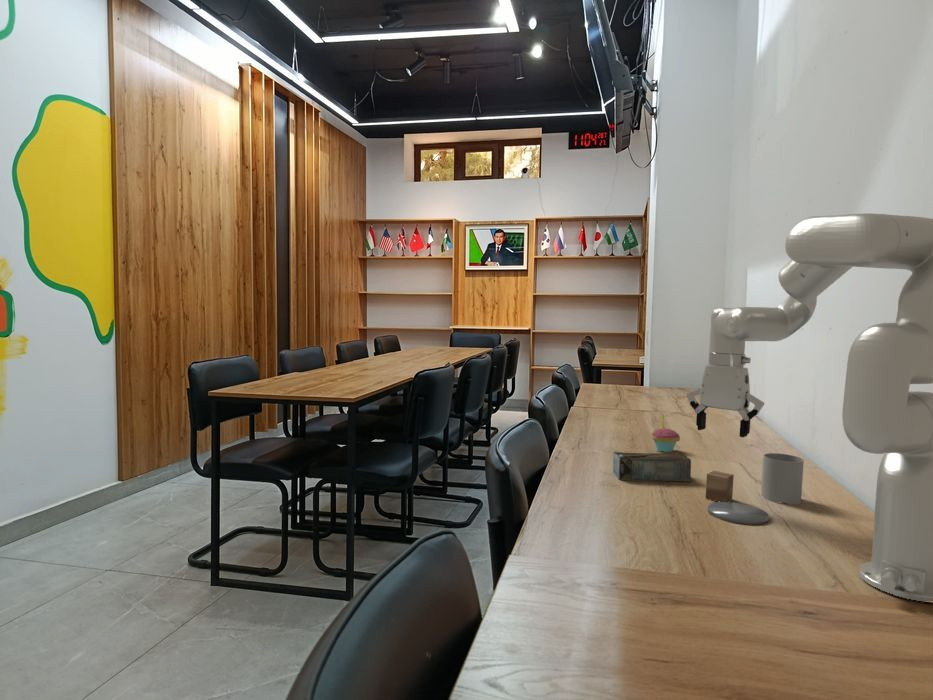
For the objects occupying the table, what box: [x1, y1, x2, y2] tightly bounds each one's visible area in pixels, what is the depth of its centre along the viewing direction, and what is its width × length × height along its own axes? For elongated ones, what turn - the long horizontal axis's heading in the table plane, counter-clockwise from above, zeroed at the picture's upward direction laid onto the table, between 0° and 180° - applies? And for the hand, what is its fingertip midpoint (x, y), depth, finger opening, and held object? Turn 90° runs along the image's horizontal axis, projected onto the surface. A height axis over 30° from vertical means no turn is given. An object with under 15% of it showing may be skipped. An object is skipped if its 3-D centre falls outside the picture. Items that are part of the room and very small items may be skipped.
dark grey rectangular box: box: [612, 451, 692, 483], centre depth 151 cm, size 8×19×7 cm, turn 88°
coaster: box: [707, 501, 770, 525], centre depth 123 cm, size 12×12×1 cm
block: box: [705, 470, 735, 502], centre depth 134 cm, size 4×4×6 cm
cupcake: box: [651, 412, 681, 453], centre depth 181 cm, size 9×8×12 cm
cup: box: [760, 452, 805, 505], centre depth 135 cm, size 8×8×10 cm
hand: (721, 432), depth 133 cm, fingers open, 9 cm apart
